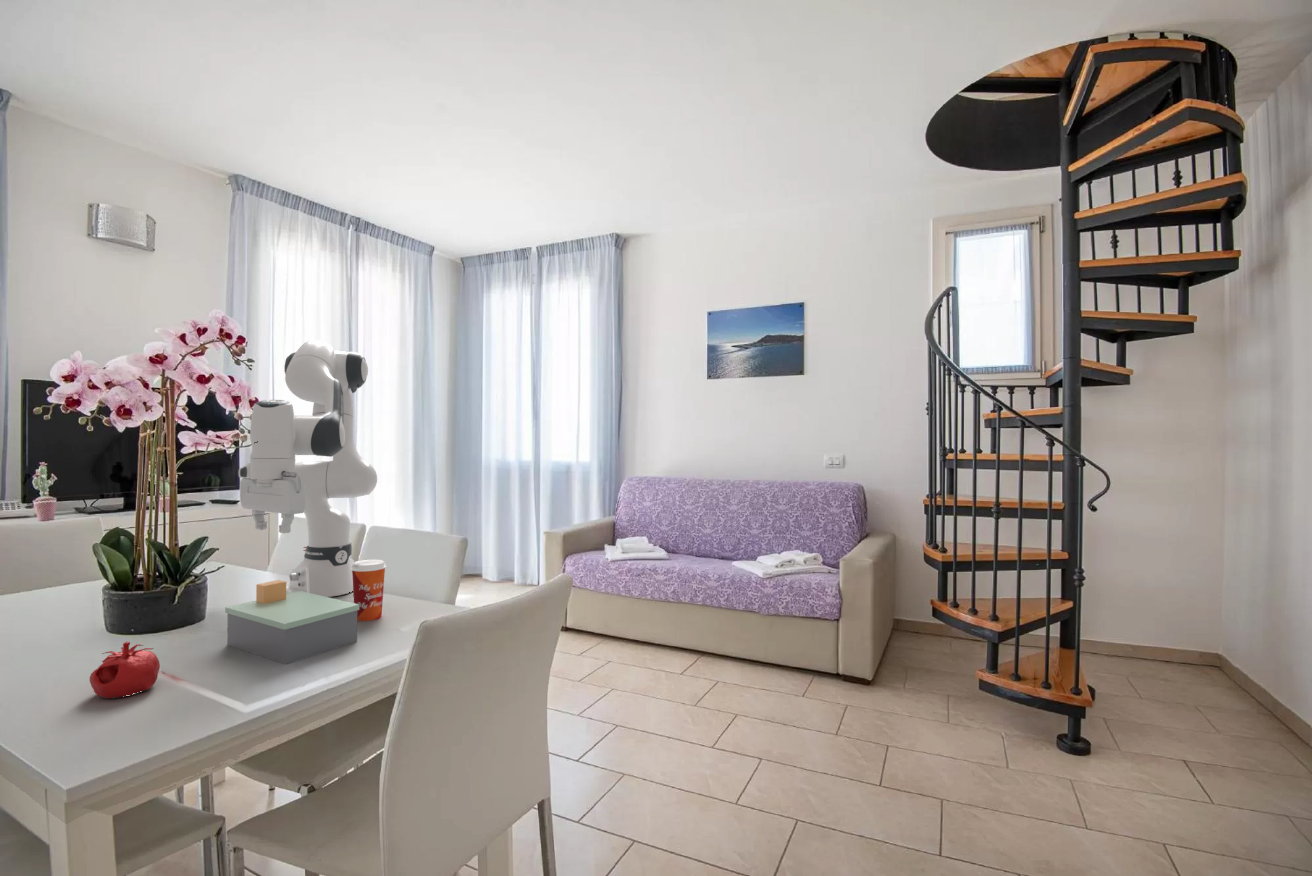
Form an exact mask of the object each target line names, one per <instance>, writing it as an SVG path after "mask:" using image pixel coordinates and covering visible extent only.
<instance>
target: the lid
mask: <svg viewBox="0 0 1312 876" xmlns="http://www.w3.org/2000/svg"><path fill="white" fill-rule="evenodd" d="M286 585H287V581H285V580H281V579H277V580H273V581H267V582H262V583H261V582H260V583H256V587H255V588H256V593H255V594H256V598H255V599H256V600H253V601H248V602H243V603H238V604H234V605H231V606H225V610H224V611H225V614H227V615H228V614H231V615H235V616H238V617H242V618H245V619H249V620H252V621H256V622H259V623H263V624H266V625H270V626H273V627H277V628H280V629H284V630H286V629H289V628H293V627H297V626H301V625H304V624H308V623H312V622H316V621H319V620H323V619H327V618H331V617H334V616H338V615H342V614H345V613H349V612H353V611H357V610H359V604H355V603H354V602H350V601H346V600H342V599H338V598H333V597H325V596H320V595H316V594H311V593H307V592H303V591H297V592H293V593H288V594H287V593H286Z"/></svg>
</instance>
